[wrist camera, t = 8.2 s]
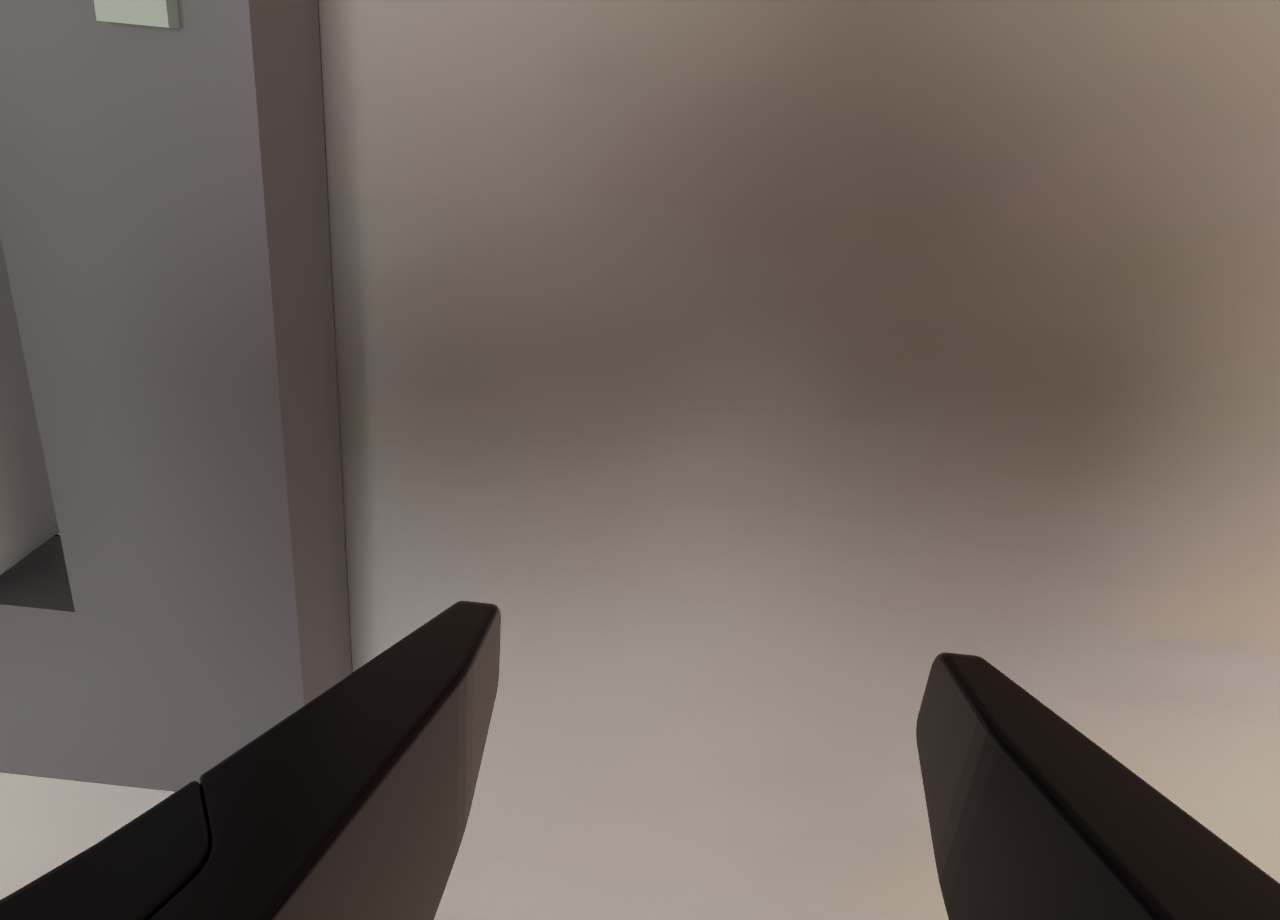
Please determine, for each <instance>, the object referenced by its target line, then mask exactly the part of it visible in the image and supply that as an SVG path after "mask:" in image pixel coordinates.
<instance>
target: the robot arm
mask: <svg viewBox="0 0 1280 920" xmlns="http://www.w3.org/2000/svg"><path fill="white" fill-rule="evenodd" d="M500 626H501V615H500V610H499V608H498V607H497V606H496V605H494V604H487V603H478V602H469V601H460V602H457V603H455V604H454V605H452V606H451V607H449V608H448V609H446V610H445V611H443V612H442V613H440V614H439V615H437V616H436V617H434V618H433V619H431V620H430V621H429V622H427V623H426V624H424V625H423V626H421V627H420V628H418V629H417V630H415V631H414V632H412V633H411V634H409V635H408V636H406V637H405V638H403V639H402V640H400V641H399V642H397V643H396V644H395V645H393V646H392V647H390V648H389V649H387V650H386V651H384V652H383V653H381V654H380V655H378V656H377V657H375V658H374V659H372V660H371V661H369V662H368V663H366V664H365V665H363V666H362V667H360V668H359V669H358V670H356V671H355V672H353V673H352V674H350V675H349V676H347V677H346V678H344V679H343V680H341V681H340V682H338V683H337V684H335V685H334V686H332V687H331V688H329V689H328V690H326V691H325V692H324V693H322V694H321V695H319V696H318V697H316V698H315V699H313V700H312V701H310V702H309V703H307V704H306V705H304V706H303V707H301V708H300V709H298V710H297V711H295V712H294V713H292V714H291V715H289V716H288V717H287V718H285V719H284V720H282V721H281V722H279V723H278V724H276V725H275V726H273V727H272V728H270V729H269V730H267V731H266V732H264V733H263V734H261V735H260V736H258V737H257V738H255V739H254V740H253V741H251V742H250V743H248V744H247V745H245V746H244V747H242V748H241V749H239V750H238V751H236V752H235V753H233V754H232V755H230V756H229V757H227V758H226V759H224V760H223V761H221V762H220V763H218V764H217V765H216V766H214V767H213V768H211V769H210V770H208V771H207V772H205V773H204V774H202V775H201V776H200V779H199V782H197V781H192V782H190V783H188V784H187V785H185V786H184V787H182V788H181V789H179V790H178V791H177V792H175V793H174V794H172V795H171V796H169V797H168V798H166V799H165V800H163V801H162V802H160V803H159V804H157V805H156V806H154V807H153V808H151V809H150V810H148V811H146V812H145V813H143V814H142V815H140V816H139V817H137V818H136V819H134V820H133V821H131V822H129V823H128V824H126V825H125V826H123V827H122V828H120V829H119V830H117V831H115V832H114V833H112V834H111V835H109V836H108V837H106V838H105V839H103V840H101V841H100V842H98V843H97V844H95V845H94V846H92V847H90V848H89V849H87V850H85V851H84V852H82V853H80V854H78V855H77V856H75V857H73V858H72V859H70V860H68V861H67V862H65V863H63V864H62V865H60V866H58V867H56V868H55V869H53V870H51V871H50V872H48V873H46V874H45V875H43V876H41V877H40V878H38V879H36V880H34V881H33V882H31V883H29V884H28V885H26V886H24V887H23V888H21V889H19V890H17V891H16V892H14V893H12V894H10V895H9V896H7V897H5V898H3V899H2V900H0V920H434V917H435V914H436V912H437V909H438V906H439V903H440V900H441V898H442V895H443V892H444V889H445V887H446V884H447V881H448V878H449V875H450V873H451V870H452V867H453V864H454V861H455V859H456V856H457V853H458V850H459V847H460V844H461V841H462V838H463V834H464V831H465V828H466V824H467V820H468V816H469V812H470V808H471V804H472V800H473V796H474V791H475V787H476V782H477V778H478V773H479V769H480V764H481V760H482V755H483V751H484V747H485V742H486V738H487V733H488V729H489V724H490V720H491V715H492V711H493V706H494V702H495V697H496V693H497V687H498V678H499V657H500ZM916 738H917V747H918V753H919V759H920V766H921V772H922V778H923V785H924V791H925V798H926V804H927V810H928V817H929V823H930V830H931V836H932V842H933V849H934V855H935V861H936V867H937V872H938V878H939V883H940V887H941V891H942V895H943V899H944V903H945V907H946V911H947V914H948V918H949V920H1280V883H1278V882H1277V881H1276V880H1274V879H1273V878H1272V877H1270V876H1269V875H1268V874H1266V873H1265V872H1264V871H1262V870H1261V869H1260V868H1258V867H1257V866H1256V865H1254V864H1253V863H1252V862H1251V861H1249V860H1248V859H1247V858H1245V857H1244V856H1243V855H1241V854H1240V853H1239V852H1237V851H1236V850H1235V849H1233V848H1232V847H1231V846H1229V845H1228V844H1227V843H1225V842H1224V841H1223V840H1222V839H1220V838H1219V837H1218V836H1216V835H1215V834H1214V833H1212V832H1211V831H1210V830H1208V829H1207V828H1206V827H1204V826H1203V825H1202V824H1200V823H1199V822H1198V821H1196V820H1195V819H1194V818H1193V817H1191V816H1190V815H1189V814H1187V813H1186V812H1185V811H1183V810H1182V809H1181V808H1179V807H1178V806H1177V805H1175V804H1174V803H1173V802H1171V801H1170V800H1169V799H1167V798H1166V797H1165V796H1164V795H1162V794H1161V793H1160V792H1158V791H1157V790H1156V789H1154V788H1153V787H1152V786H1150V785H1149V784H1148V783H1146V782H1145V781H1144V780H1142V779H1141V778H1140V777H1138V776H1137V775H1136V774H1135V773H1133V772H1132V771H1131V770H1129V769H1128V768H1127V767H1125V766H1124V765H1123V764H1121V763H1120V762H1119V761H1117V760H1116V759H1115V758H1113V757H1112V756H1111V755H1109V754H1108V753H1107V752H1106V751H1104V750H1103V749H1102V748H1100V747H1099V746H1098V745H1096V744H1095V743H1094V742H1092V741H1091V740H1090V739H1088V738H1087V737H1086V736H1084V735H1083V734H1082V733H1081V732H1079V731H1078V730H1077V729H1075V728H1074V727H1073V726H1071V725H1070V724H1069V723H1067V722H1066V721H1065V720H1063V719H1062V718H1061V717H1059V716H1058V715H1057V714H1055V713H1054V712H1053V711H1052V710H1050V709H1049V708H1048V707H1046V706H1045V705H1044V704H1042V703H1041V702H1040V701H1038V700H1037V699H1036V698H1034V697H1033V696H1032V695H1030V694H1029V693H1028V692H1026V691H1025V690H1024V689H1023V688H1021V687H1020V686H1019V685H1017V684H1016V683H1015V682H1013V681H1012V680H1011V679H1009V678H1008V677H1007V676H1005V675H1004V674H1003V673H1001V672H1000V671H999V670H997V669H996V668H995V667H994V666H992V665H991V664H990V663H988V662H987V661H986V660H984V659H983V658H981V657H978V656H974V655H964V654H954V653H941V654H939V655H938V656H937V657H936V658H935V660H934V662H933V664H932V667H931V670H930V674H929V678H928V681H927V685H926V689H925V692H924V696H923V700H922V703H921V707H920V711H919V714H918V719H917V727H916ZM199 783H200V784H199Z"/></svg>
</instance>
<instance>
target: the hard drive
mask: <svg viewBox="0 0 1280 920" xmlns="http://www.w3.org/2000/svg"><path fill="white" fill-rule="evenodd" d="M58 532H59V528H58V523H57V518H56V513H55V508H54V503H53V498H52V493H51V488H50V483H49V478H48V473H47V468H46V463H45V458H44V453H43V448H42V443H41V438H40V433H39V428H38V423H37V418H36V413H35V408H34V403H33V398H32V393H31V388H30V383H29V378H28V373H27V368H26V363H25V358H24V352H23V347H22V342H21V337H20V332H19V327H18V322H17V317H16V312H15V307H14V302H13V297H12V292H11V287H10V282H9V277H8V272H7V267H6V262H5V257H4V252H3V247H2V242H1V237H0V575H1V574H3V573H4V572H5V571H7V570H8V569H9V568H11V567H12V566H14V565H15V564H16V563H18V562H19V561H20V560H22V559H23V558H24V557H25V556H27V555H28V554H29V553H31V552H32V551H33V550H35V549H36V548H38V547H39V546H40V545H42V544H43V543H45V542H46V541H47V540H48V539H50V538H51V537H53V536H54V535H55V534H57V533H58Z"/></svg>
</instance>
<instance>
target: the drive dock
mask: <svg viewBox="0 0 1280 920" xmlns="http://www.w3.org/2000/svg"><path fill="white" fill-rule="evenodd" d="M0 237H1V242H2V247H3V252H4V257H5V262H6V267H7V272H8V277H9V282H10V287H11V292H12V297H13V302H14V307H15V312H16V317H17V322H18V327H19V332H20V337H21V342H22V347H23V352H24V358H25V363H26V368H27V373H28V378H29V383H30V388H31V393H32V398H33V403H34V408H35V413H36V418H37V423H38V428H39V433H40V438H41V443H42V448H43V453H44V458H45V463H46V468H47V473H48V478H49V483H50V488H51V493H52V498H53V503H54V508H55V513H56V518H57V523H58V528H59V533H60V537H58V536H53V537H51V538H50V539H48V540H47V541H46V542H45V543H43V544H42V545H40V546H39V547H38V548H36V549H35V550H33V551H32V552H31V553H29V554H28V555H27V556H25V557H24V558H23V559H22V560H20V561H19V562H18V563H16V564H15V565H14V566H12V567H11V568H9V569H8V570H7V571H5V572H4V573H3V574H1V575H0V772H2V773H11V774H20V775H29V776H39V777H48V778H57V779H66V780H75V781H84V782H93V783H102V784H111V785H120V786H130V787H139V788H148V789H157V790H166V791H175V792H177V791H178V790H179V789H181V788H182V787H184V786H185V785H187V784H188V783H190V782H192V781H197V782H199V779H200V776H201V775H202V774H204V773H205V772H207V771H208V770H210V769H211V768H213V767H214V766H216V765H217V764H218V763H220V762H221V761H223V760H224V759H226V758H227V757H229V756H230V755H232V754H233V753H235V752H236V751H238V750H239V749H241V748H242V747H244V746H245V745H247V744H248V743H250V742H251V741H253V740H254V739H255V738H257V737H258V736H260V735H261V734H263V733H264V732H266V731H267V730H269V729H270V728H272V727H273V726H275V725H276V724H278V723H279V722H281V721H282V720H284V719H285V718H287V717H288V716H289V715H291V714H292V713H294V712H295V711H297V710H298V709H300V708H301V707H303V706H304V705H306V704H307V703H309V702H310V701H312V700H313V699H315V698H316V697H318V696H319V695H321V694H322V693H324V692H325V691H326V690H328V689H329V688H331V687H332V686H334V685H335V684H337V683H338V682H340V681H341V680H343V679H344V678H346V677H347V676H349V675H350V674H352V665H351V646H350V626H349V606H348V587H347V567H346V548H345V528H344V508H343V489H342V469H341V449H340V430H339V410H338V390H337V371H336V351H335V331H334V312H333V292H332V272H331V253H330V233H329V213H328V194H327V174H326V154H325V135H324V115H323V95H322V76H321V56H320V36H319V17H318V0H0ZM199 784H200V783H199Z"/></svg>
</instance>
